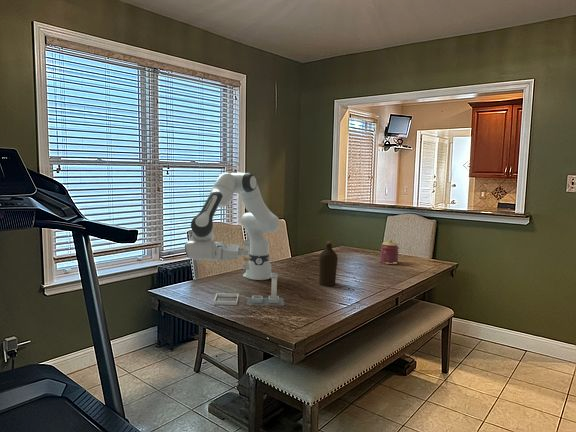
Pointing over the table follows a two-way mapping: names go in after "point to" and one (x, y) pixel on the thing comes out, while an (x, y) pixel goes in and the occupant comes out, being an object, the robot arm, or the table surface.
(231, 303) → the tray
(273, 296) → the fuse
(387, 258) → the canister
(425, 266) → the table surface
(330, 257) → the olive oil
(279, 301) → the fuse board
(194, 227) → the robot arm
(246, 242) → the cylinder
